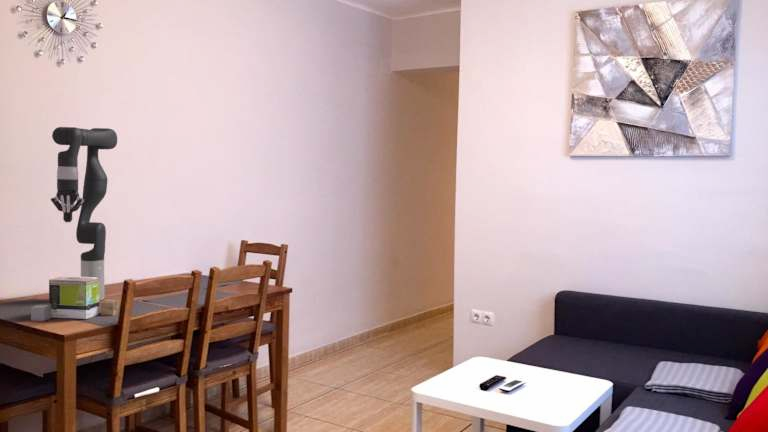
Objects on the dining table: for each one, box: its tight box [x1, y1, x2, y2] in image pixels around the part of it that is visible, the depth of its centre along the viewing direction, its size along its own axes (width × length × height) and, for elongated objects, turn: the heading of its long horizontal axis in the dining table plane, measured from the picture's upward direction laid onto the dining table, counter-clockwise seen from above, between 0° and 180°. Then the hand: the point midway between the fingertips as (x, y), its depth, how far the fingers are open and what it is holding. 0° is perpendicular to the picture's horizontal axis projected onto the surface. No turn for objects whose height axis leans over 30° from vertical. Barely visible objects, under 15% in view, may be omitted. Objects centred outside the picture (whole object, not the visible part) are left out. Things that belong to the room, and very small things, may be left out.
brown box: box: [100, 299, 120, 316], centre depth 256 cm, size 5×5×5 cm
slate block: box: [30, 303, 53, 322], centre depth 244 cm, size 5×5×5 cm
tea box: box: [48, 275, 101, 320], centre depth 250 cm, size 15×10×15 cm, turn 84°
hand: (67, 222), depth 258 cm, fingers closed
